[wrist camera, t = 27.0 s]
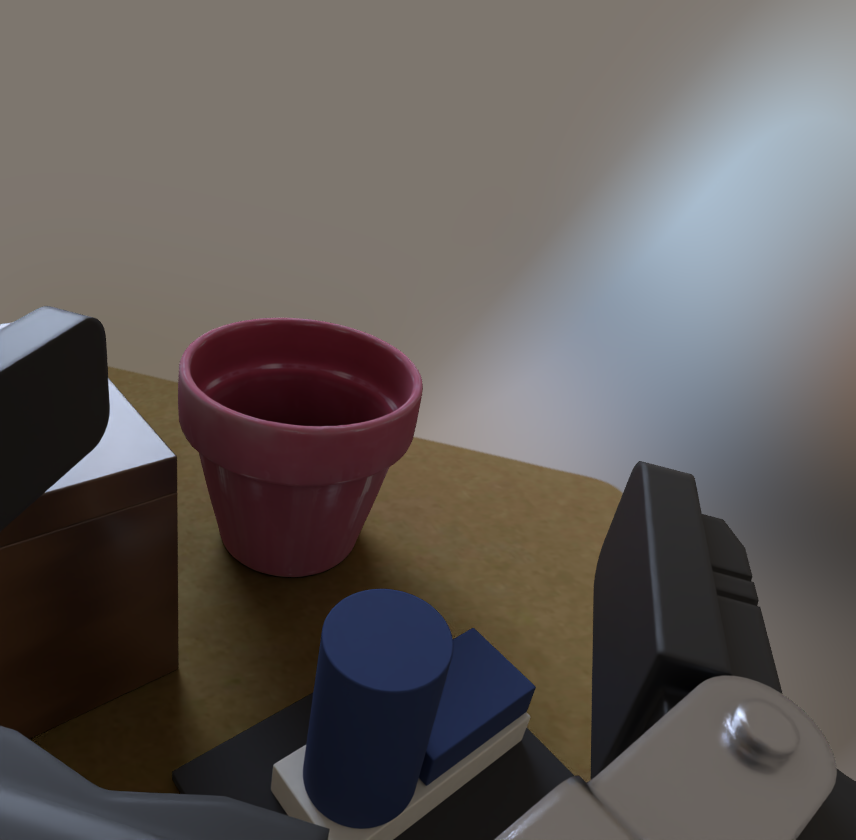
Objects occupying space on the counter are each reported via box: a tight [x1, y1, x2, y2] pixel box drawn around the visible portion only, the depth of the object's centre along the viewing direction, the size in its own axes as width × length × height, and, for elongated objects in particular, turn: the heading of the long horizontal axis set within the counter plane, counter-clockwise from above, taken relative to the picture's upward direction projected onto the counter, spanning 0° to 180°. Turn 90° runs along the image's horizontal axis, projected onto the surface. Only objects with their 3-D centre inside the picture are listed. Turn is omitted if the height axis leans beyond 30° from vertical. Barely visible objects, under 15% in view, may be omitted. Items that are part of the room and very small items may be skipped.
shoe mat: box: [172, 693, 574, 840], centre depth 36 cm, size 16×12×1 cm
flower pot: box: [178, 318, 423, 577], centre depth 47 cm, size 14×14×13 cm
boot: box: [271, 589, 536, 840], centre depth 34 cm, size 12×5×11 cm, turn 131°
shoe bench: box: [0, 323, 178, 739], centre depth 37 cm, size 10×15×14 cm, turn 41°
